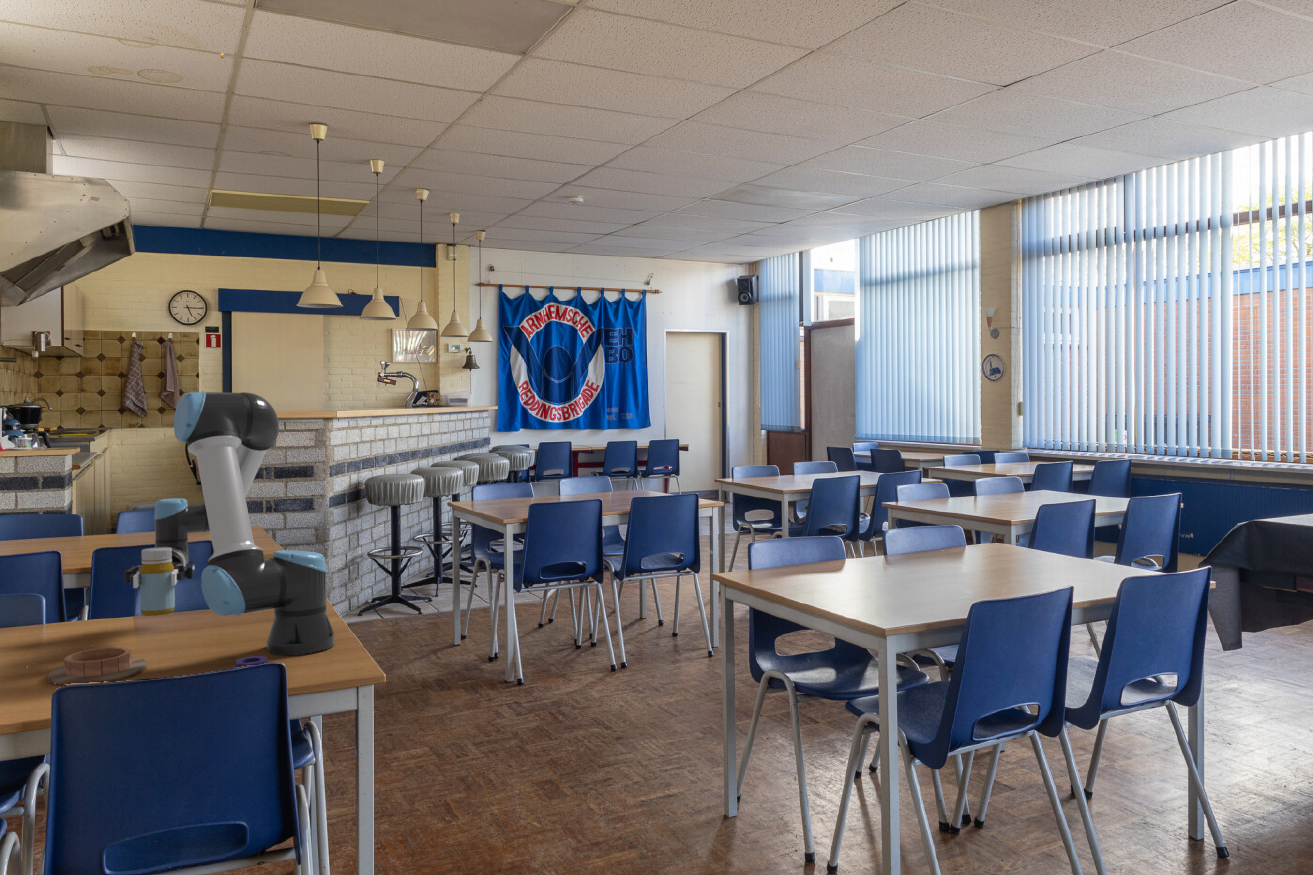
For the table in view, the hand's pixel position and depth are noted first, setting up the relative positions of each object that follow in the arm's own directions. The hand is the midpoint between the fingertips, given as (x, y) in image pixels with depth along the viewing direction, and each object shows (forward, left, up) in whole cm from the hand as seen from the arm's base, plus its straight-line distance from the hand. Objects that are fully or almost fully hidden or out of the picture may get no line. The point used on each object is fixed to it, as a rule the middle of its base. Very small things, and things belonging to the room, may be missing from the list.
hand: (154, 580), depth 203 cm
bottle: (+4, -3, -9) cm, 10 cm away
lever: (-29, -5, -18) cm, 35 cm away
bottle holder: (-2, +13, -18) cm, 22 cm away
